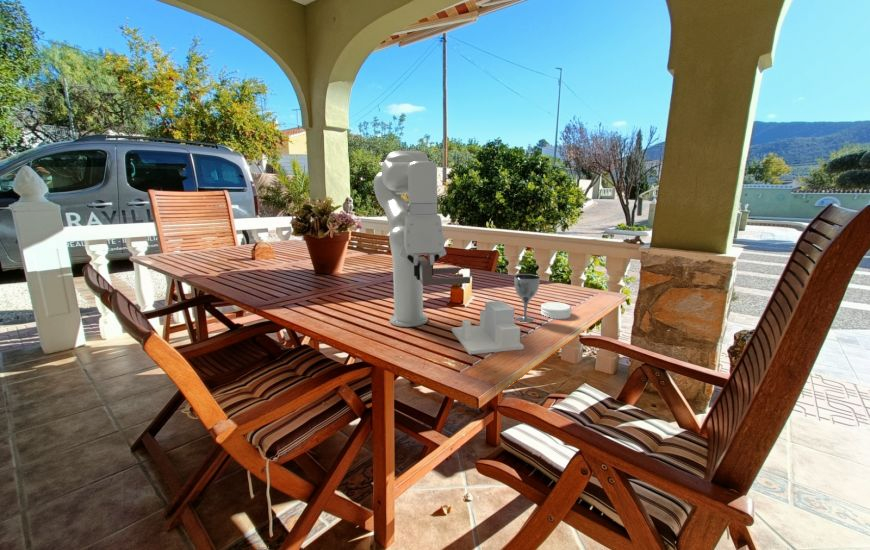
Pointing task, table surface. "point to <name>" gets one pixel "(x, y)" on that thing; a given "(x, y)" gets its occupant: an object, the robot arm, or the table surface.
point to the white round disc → (556, 310)
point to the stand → (490, 330)
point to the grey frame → (427, 273)
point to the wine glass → (526, 291)
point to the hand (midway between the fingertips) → (423, 278)
